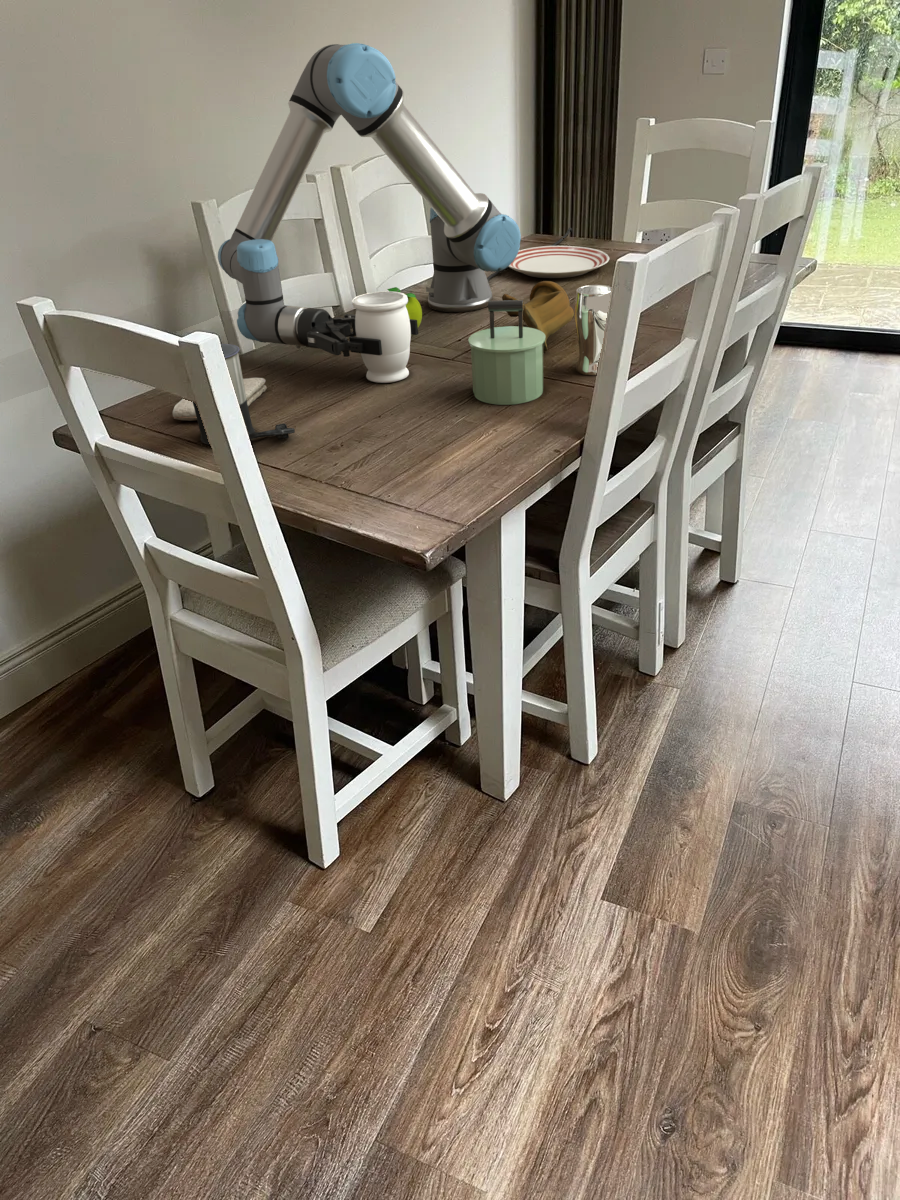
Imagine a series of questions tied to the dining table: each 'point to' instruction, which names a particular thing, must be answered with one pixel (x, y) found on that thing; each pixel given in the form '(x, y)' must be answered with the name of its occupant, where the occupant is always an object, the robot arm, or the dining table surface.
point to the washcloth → (252, 391)
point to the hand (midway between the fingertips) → (399, 337)
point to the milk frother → (242, 399)
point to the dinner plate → (558, 261)
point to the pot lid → (506, 332)
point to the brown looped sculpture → (545, 308)
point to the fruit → (411, 306)
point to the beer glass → (591, 325)
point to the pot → (507, 376)
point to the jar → (384, 333)
